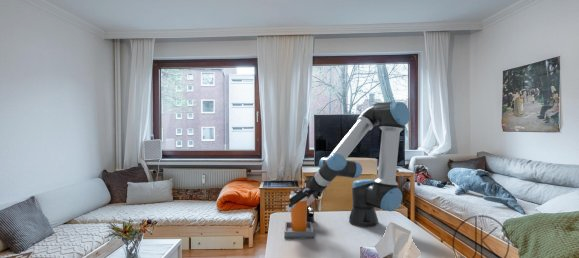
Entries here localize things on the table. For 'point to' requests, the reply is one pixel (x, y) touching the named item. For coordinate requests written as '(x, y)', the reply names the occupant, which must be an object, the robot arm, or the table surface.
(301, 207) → the shaker bottle
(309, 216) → the french press
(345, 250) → the table surface
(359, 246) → the table surface
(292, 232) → the tray
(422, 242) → the table surface
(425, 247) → the table surface
